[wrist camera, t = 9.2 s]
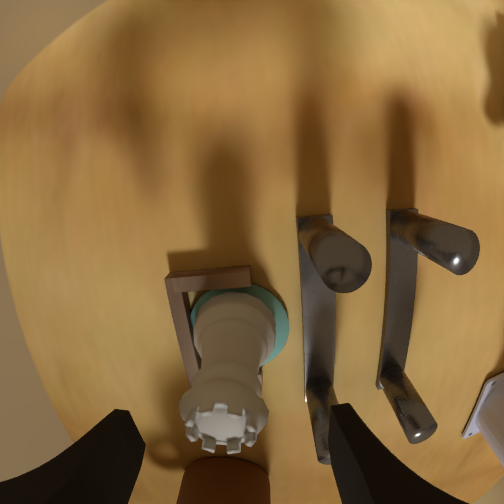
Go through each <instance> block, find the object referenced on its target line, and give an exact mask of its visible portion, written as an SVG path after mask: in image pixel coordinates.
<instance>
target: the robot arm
mask: <svg viewBox="0 0 504 504" xmlns="http://www.w3.org/2000/svg"><path fill="white" fill-rule="evenodd" d="M479 432H481V434H482V435H483V436H484V438H485V439H486V441H487V442H488V444H489V445H490V447H491V448H492V450H493V451H494V453H495V454H496V456H497V457H498V459H499V460H500V462H501V464H502V465H503V467H504V372H503V373H501V374H499V375H497V376H495V377H492V378H490V379H488V380H487V381H486V382H485V384H484V387H483V389H482V392H481V394H480V397H479V399H478V402H477V404H476V406H475V409H474V411H473V413H472V415H471V418H470V420H469V422H468V424H467V426H466V428H465V430H464V432H463V434H462V438H463V439H466V438H468V437H470V436H472V435H474V434H477V433H479ZM145 446H146V444H145V442H144V441H143V439H142V437H141V435H140V433H139V431H138V429H137V427H136V425H135V423H134V421H133V419H132V416H131V414H130V412H129V411H128V410H119V409H115V410H113V411H112V412H111V413H110V414H108V415H107V416H106V417H105V418H104V419H103V420H101V421H100V422H99V423H98V424H97V425H96V426H94V427H93V428H92V429H91V430H90V431H89V432H87V433H86V434H85V435H84V436H83V437H81V438H80V439H79V440H78V441H77V442H75V443H74V444H73V445H71V446H70V447H69V448H67V449H66V450H64V451H63V452H62V453H61V454H59V455H58V456H56V457H55V458H53V459H52V460H50V461H48V462H47V463H45V464H43V465H41V466H40V467H38V468H36V469H34V470H31V471H29V472H27V473H25V474H23V475H20V476H18V477H15V478H13V479H9V480H6V481H3V482H0V504H128V501H129V499H130V496H131V493H132V491H133V488H134V485H135V482H136V480H137V477H138V474H139V471H140V468H141V465H142V461H143V456H144V451H145ZM328 447H329V453H330V460H331V466H332V469H333V473H334V476H335V480H336V483H337V487H338V490H339V494H340V497H341V501H342V504H469V503H466V502H464V501H462V500H459V499H457V498H455V497H453V496H451V495H449V494H447V493H446V492H444V491H442V490H440V489H438V488H437V487H435V486H433V485H432V484H430V483H429V482H427V481H426V480H424V479H423V478H421V477H420V476H418V475H417V474H416V473H414V472H413V471H412V470H411V469H409V468H408V467H407V466H406V465H405V464H403V463H402V462H401V461H400V460H399V459H398V458H397V457H396V456H394V455H393V454H392V453H391V452H390V451H389V450H388V449H387V448H386V447H385V446H384V445H383V444H382V443H381V441H380V440H379V439H378V438H377V437H376V436H375V435H374V434H373V433H372V432H371V430H370V429H369V428H368V427H367V426H366V424H365V423H364V422H363V421H362V419H361V418H360V417H359V415H358V414H357V413H356V411H355V410H354V409H353V407H352V406H351V405H350V404H349V403H344V404H339V405H332V406H331V407H330V421H329V433H328Z"/></svg>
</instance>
